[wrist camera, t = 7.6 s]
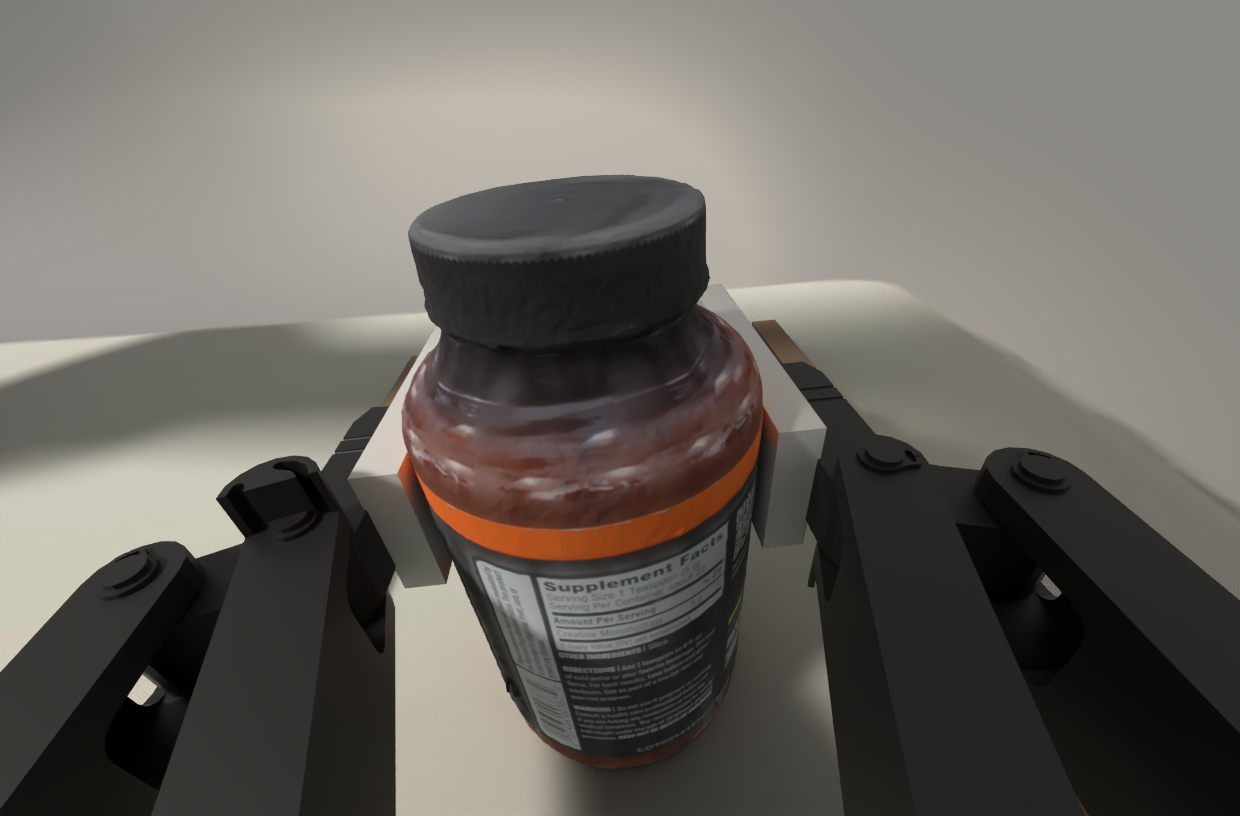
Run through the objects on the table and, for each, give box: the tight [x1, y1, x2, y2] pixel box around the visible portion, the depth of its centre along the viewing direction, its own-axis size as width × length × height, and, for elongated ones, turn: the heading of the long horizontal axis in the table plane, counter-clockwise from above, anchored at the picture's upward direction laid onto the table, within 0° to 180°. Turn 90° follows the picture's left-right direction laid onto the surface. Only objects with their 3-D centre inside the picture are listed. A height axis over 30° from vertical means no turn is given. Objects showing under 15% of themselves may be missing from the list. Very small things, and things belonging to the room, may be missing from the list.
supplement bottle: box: [401, 175, 763, 769], centre depth 10 cm, size 6×6×11 cm
